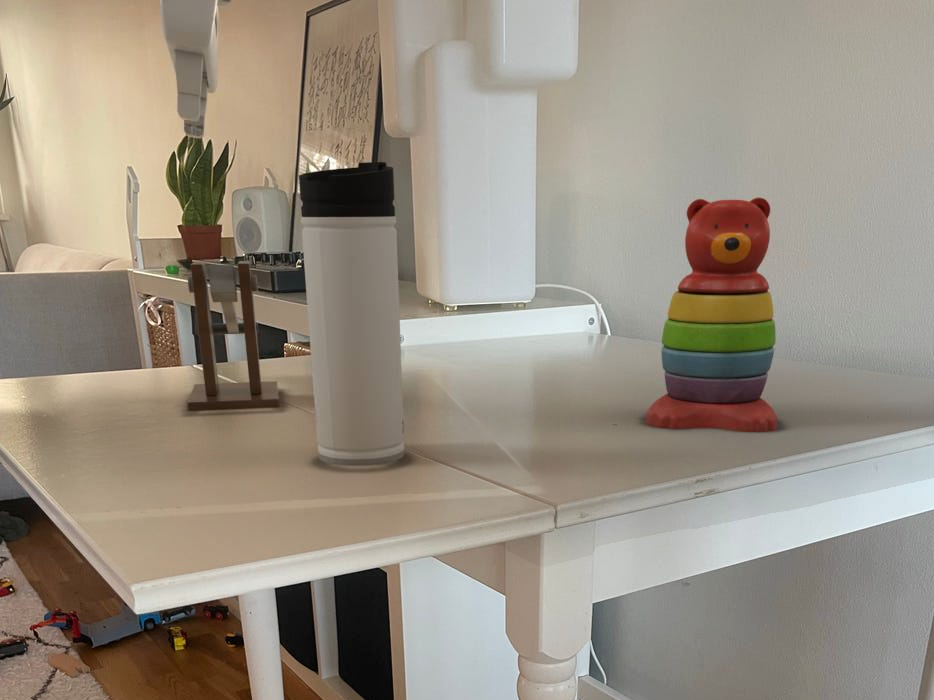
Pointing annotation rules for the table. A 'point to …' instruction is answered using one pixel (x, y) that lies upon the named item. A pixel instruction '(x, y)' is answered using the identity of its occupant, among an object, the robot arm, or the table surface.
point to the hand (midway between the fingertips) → (191, 128)
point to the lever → (225, 298)
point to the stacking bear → (720, 324)
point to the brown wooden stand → (212, 391)
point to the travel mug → (353, 313)
